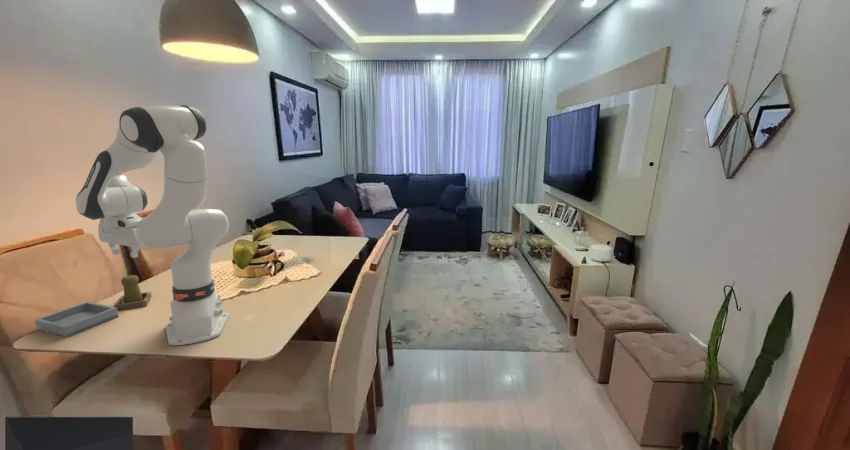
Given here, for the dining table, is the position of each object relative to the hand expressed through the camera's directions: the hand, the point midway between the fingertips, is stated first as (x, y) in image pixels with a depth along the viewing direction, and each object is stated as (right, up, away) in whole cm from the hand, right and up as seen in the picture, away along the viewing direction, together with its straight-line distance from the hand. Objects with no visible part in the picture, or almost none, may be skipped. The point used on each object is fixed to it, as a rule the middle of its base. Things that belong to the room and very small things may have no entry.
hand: (125, 255), depth 137 cm
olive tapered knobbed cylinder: (0, -19, +4) cm, 19 cm away
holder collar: (0, -19, +4) cm, 19 cm away
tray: (-7, -22, -11) cm, 26 cm away
